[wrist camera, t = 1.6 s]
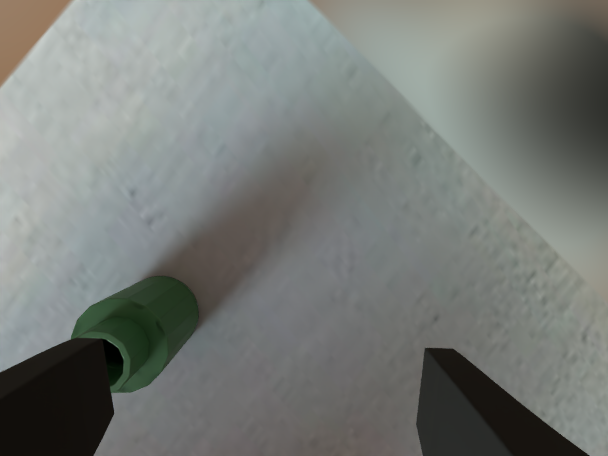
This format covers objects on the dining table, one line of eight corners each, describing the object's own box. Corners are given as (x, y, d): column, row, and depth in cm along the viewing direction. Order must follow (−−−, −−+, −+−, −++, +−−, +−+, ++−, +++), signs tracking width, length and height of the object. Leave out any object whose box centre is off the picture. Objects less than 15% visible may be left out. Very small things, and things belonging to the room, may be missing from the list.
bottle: (143, 359, 24) (70, 432, 16) (112, 293, 23) (23, 336, 16) (210, 331, 24) (169, 391, 16) (180, 264, 23) (123, 293, 16)
